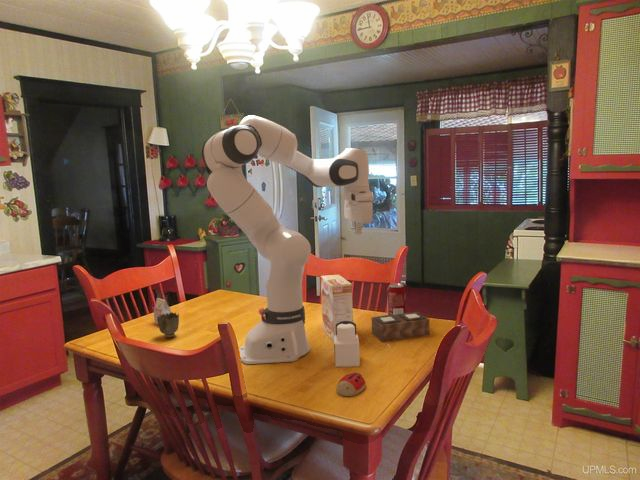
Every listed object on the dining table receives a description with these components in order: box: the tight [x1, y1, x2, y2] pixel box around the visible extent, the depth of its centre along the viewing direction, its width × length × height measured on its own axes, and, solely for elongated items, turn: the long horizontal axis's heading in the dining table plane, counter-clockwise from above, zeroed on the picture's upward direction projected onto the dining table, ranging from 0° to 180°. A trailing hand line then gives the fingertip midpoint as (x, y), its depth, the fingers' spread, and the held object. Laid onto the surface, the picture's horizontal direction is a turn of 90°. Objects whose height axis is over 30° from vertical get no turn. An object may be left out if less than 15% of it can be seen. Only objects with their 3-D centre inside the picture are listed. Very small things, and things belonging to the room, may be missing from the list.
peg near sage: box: [380, 317, 395, 321], centre depth 161 cm, size 4×4×6 cm
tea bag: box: [153, 297, 172, 325], centre depth 183 cm, size 4×7×10 cm, turn 45°
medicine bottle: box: [333, 321, 361, 368], centre depth 141 cm, size 7×7×12 cm
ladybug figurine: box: [336, 372, 367, 397], centre depth 124 cm, size 7×10×4 cm
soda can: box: [386, 282, 407, 315], centre depth 182 cm, size 7×7×12 cm
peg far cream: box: [405, 314, 420, 318], centre depth 163 cm, size 4×4×6 cm
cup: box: [157, 311, 180, 339], centre depth 169 cm, size 8×7×8 cm
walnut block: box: [371, 311, 430, 343], centre depth 162 cm, size 17×9×6 cm, turn 105°
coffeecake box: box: [320, 274, 354, 343], centre depth 163 cm, size 15×7×20 cm, turn 14°
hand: (357, 234), depth 170 cm, fingers closed
